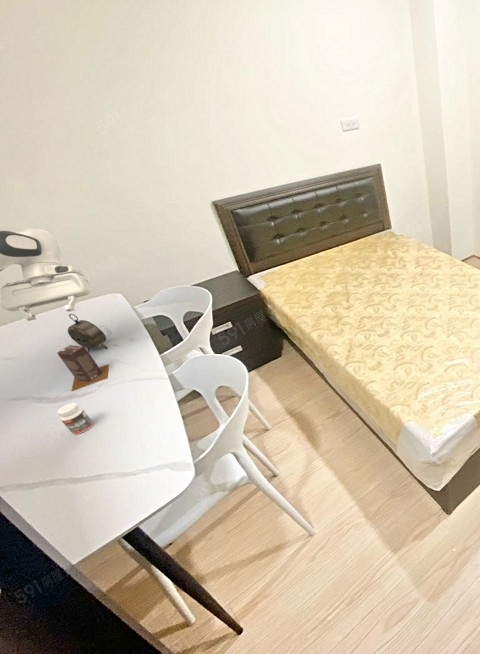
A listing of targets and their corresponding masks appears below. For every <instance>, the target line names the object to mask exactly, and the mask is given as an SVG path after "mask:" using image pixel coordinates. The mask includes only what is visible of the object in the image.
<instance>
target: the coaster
mask: <svg viewBox="0 0 480 654" xmlns="http://www.w3.org/2000/svg"><path fill="white" fill-rule="evenodd" d="M109 366H110V364H109V363H106V364H103V365H101V366H98V367H99V368H100V370H101V371H102V374H101V375H100V376H98V377H97V378H96V379H94V380H92V381H81V380H76V378H75V377H74V376H73V382H72V387H71V391H77V390H78V389H81V388H84V387H86V385H87V386H90V385H93V384H95V383H98V382H101V381H104V380H106V379H108V377H107V376H109ZM105 378H106V379H105ZM103 379H104V380H103ZM100 380H101V381H100ZM97 381H98V382H97ZM94 382H95V383H94ZM89 384H90V385H89Z"/></svg>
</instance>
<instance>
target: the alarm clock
mask: <svg viewBox="0 0 480 654" xmlns="http://www.w3.org/2000/svg"><path fill="white" fill-rule="evenodd" d="M71 316H74V317H75V318H76V319H74V318H73V317H71ZM68 317H69V318H70V319H71V320H72V321H74V323H73V324H71V325H70V326H68V328H67V334H68V335H69V337H70V338H71V340H73V341H74V342H75V343H76V344H78V346H84V347H85V348H86V350H87V351H88V353H90V351H91V350H94V349H97V348H98V347H100V346H101V347H103V348H104V350H105V349H108V346H106V345H105V344H104V343H107V336H106V334H105V333H104V332H103V331H102V329H101V328H99V327H98V326H97V325H95V324H94V323H93V322H90V321H88V320H83V319H80V320H79V318H78V316H77V315H75V314H74V313H69V314H68Z"/></svg>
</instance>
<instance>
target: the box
mask: <svg viewBox="0 0 480 654" xmlns="http://www.w3.org/2000/svg"><path fill="white" fill-rule="evenodd" d="M56 354H57V355H58V357H59V358H60V359H61V361H62V362H63V363H64V365H65V366H66V367H67V369H68V370H69V371H70V373H71V374H72V375H73V378H74V377H75V378H76V380H81V381H92V380H94V379H96V378H97V377H98V376H100V375H101V374H102V371H101V370H100V368H99V367H100V366H99V365H98V364H97V362H96V361H95V360H94V358H93V357H92V355H91V354H90V352H88V349H87V348H85V347H84V346H81V345H71V344H70V345H68V346H66V347H65V348H63V349H61V350H59V351H58V352H57V353H56Z"/></svg>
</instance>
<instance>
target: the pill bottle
mask: <svg viewBox="0 0 480 654" xmlns="http://www.w3.org/2000/svg"><path fill="white" fill-rule="evenodd" d="M57 414H58V415H59V416H60V417H59V419H60V421H61V422H62V423H63V424H64V425H65V427H66V428H67V429H68V430H69V432H70V433H71V434H73V435H79V434H82V433H85V432H87V431H88V430H90V429H91V428H92V426H93V425H94V422H93V420H92V419H91V418H90V416H89V415H88V414H87V412H85V410H84V409H83V408H82V407H80V406H79V405H78V404H77V403H76V402H71V403H70V402H69V403H67V404H64V405H63V406H61V407H60V408H59V409H58V410H57Z"/></svg>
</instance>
